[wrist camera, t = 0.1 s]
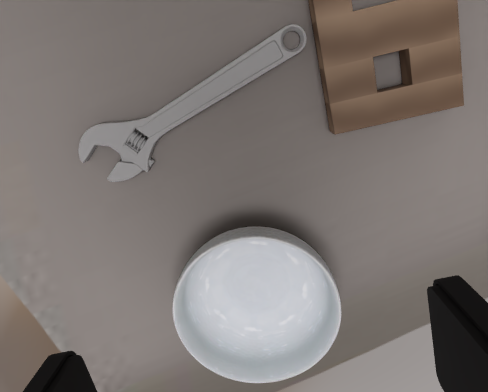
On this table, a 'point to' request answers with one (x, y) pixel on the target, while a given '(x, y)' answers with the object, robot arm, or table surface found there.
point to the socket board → (382, 42)
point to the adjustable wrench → (183, 107)
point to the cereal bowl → (257, 305)
